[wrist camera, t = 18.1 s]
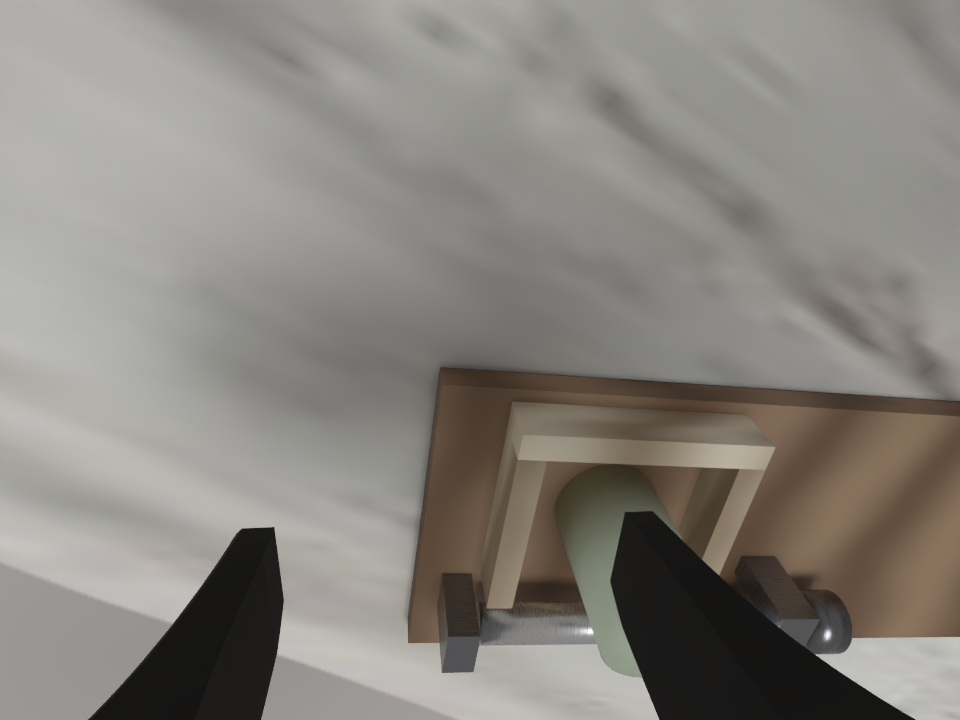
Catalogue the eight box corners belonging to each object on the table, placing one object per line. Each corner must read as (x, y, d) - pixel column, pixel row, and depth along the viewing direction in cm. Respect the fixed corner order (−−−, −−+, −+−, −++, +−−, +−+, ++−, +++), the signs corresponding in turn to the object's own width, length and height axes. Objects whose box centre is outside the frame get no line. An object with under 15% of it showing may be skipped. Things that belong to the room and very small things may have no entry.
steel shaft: (823, 576, 28) (861, 625, 26) (801, 616, 29) (835, 667, 27) (480, 573, 25) (489, 629, 23) (471, 618, 26) (478, 674, 24)
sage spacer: (623, 446, 23) (690, 569, 18) (670, 507, 25) (744, 635, 20) (535, 501, 24) (575, 635, 19) (587, 557, 26) (637, 693, 21)
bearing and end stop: (775, 555, 27) (820, 619, 24) (741, 624, 29) (779, 690, 26) (445, 551, 25) (452, 621, 22) (433, 627, 27) (438, 700, 24)
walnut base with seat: (1101, 411, 27) (1182, 456, 24) (955, 617, 33) (1006, 671, 30) (440, 367, 22) (447, 417, 19) (407, 619, 28) (409, 685, 25)
